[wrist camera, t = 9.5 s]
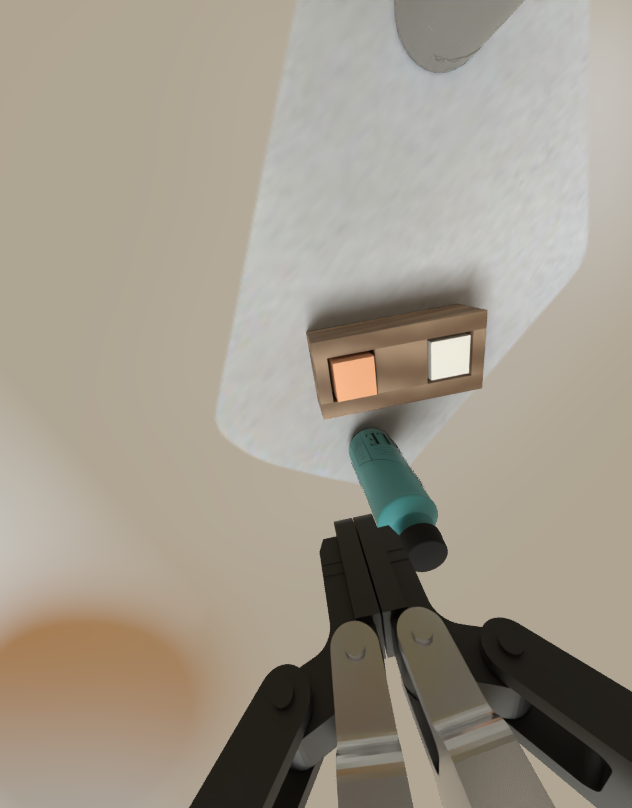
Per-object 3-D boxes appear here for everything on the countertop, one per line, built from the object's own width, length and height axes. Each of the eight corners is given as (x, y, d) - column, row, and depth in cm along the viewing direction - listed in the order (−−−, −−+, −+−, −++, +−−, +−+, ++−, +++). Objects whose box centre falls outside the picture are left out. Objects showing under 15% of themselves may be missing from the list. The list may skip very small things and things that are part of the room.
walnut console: (306, 332, 37) (310, 343, 32) (457, 303, 38) (487, 310, 33) (317, 399, 41) (323, 419, 36) (455, 372, 42) (482, 388, 36)
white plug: (412, 333, 38) (431, 342, 33) (447, 326, 38) (470, 335, 33) (413, 367, 40) (431, 380, 35) (447, 360, 40) (468, 373, 35)
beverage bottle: (349, 464, 46) (395, 594, 28) (341, 427, 43) (386, 543, 25) (391, 454, 46) (465, 575, 28) (385, 415, 43) (463, 523, 25)
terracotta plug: (325, 352, 37) (332, 364, 32) (362, 345, 37) (373, 356, 32) (330, 386, 38) (338, 402, 34) (365, 379, 39) (377, 394, 34)
